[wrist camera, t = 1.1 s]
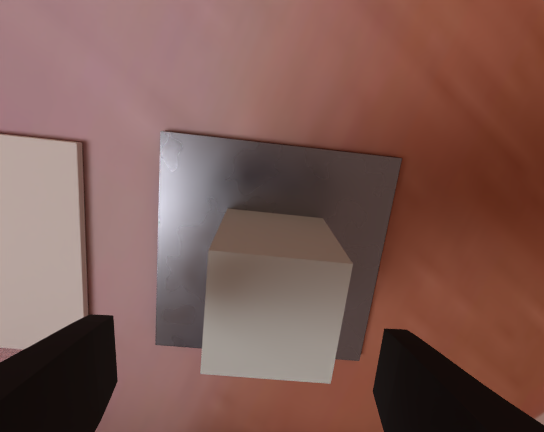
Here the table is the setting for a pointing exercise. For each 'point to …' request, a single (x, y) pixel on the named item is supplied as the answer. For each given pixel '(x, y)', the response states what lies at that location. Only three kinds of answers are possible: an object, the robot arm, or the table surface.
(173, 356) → the table surface
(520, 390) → the table surface
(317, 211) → the post base
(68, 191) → the mat
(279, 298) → the pale grey cube box
